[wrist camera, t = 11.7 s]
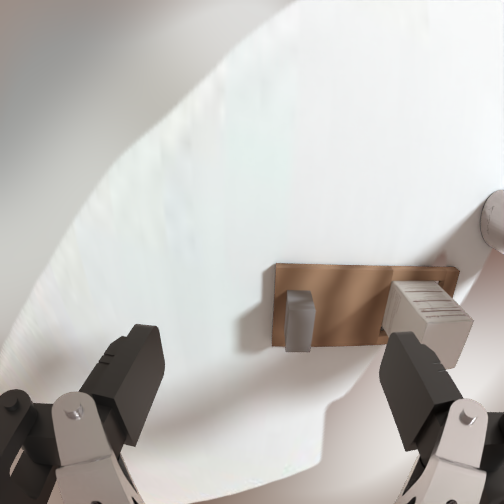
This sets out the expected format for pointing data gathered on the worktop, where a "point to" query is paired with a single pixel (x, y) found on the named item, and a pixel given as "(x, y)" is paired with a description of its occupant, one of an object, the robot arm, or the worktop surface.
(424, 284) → the supplement box
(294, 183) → the worktop surface
